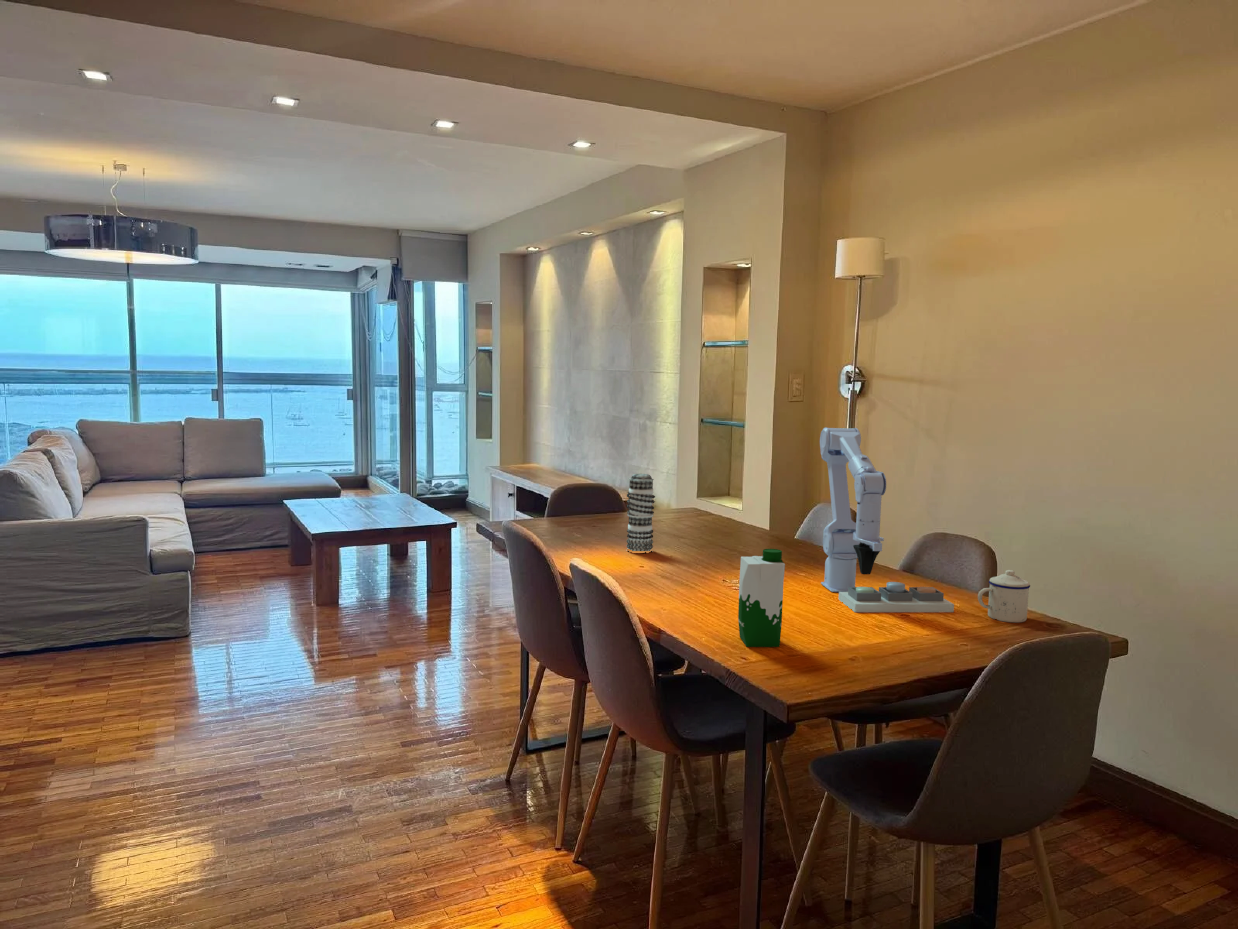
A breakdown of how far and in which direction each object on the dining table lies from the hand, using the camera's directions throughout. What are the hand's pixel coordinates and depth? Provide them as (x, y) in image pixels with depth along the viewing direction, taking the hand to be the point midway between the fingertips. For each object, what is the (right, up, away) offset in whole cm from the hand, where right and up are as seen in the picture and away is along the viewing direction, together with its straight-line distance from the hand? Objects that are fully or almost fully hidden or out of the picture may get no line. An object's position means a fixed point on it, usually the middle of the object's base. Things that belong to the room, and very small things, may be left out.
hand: (865, 573), depth 214 cm
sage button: (0, -6, +1) cm, 6 cm away
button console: (+8, -8, +1) cm, 11 cm away
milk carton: (-32, -11, -31) cm, 46 cm away
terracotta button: (+16, -6, +2) cm, 17 cm away
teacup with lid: (+31, -10, -8) cm, 33 cm away
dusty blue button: (+8, -5, +1) cm, 9 cm away
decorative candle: (-55, -1, +62) cm, 83 cm away
